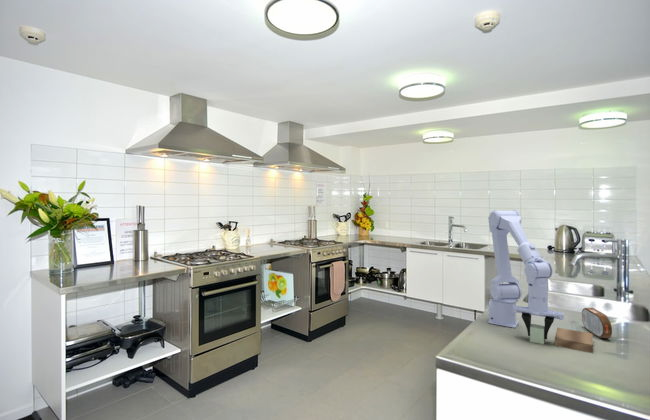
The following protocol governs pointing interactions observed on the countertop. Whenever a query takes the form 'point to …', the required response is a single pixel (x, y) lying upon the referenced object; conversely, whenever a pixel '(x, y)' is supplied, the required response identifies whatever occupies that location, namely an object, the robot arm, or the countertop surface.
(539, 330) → the sage cube
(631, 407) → the countertop surface
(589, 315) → the tin
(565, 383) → the countertop surface
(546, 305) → the robot arm
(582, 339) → the walnut block
